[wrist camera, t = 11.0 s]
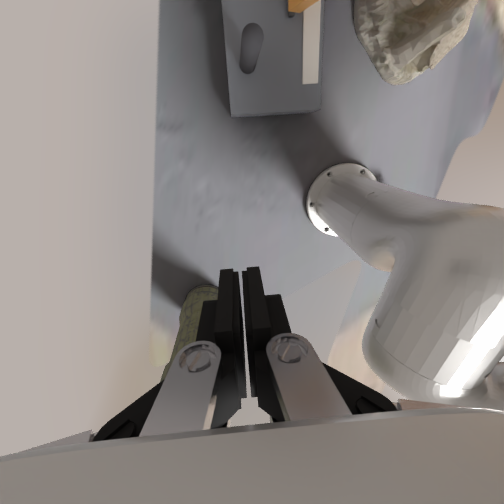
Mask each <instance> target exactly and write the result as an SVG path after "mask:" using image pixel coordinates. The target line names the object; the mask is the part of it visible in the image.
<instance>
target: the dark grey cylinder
mask: <svg viewBox="0 0 504 504" xmlns="http://www.w3.org/2000/svg"><path fill="white" fill-rule="evenodd" d="M263 40H264V33H263V30H262V28H261V27H260V26H259V25H258V24H256V23H249V24H247V25H246V26H245V27H244V29H243V31H242V37H241V51H240V69H241V71H242V72H243V73H245V74H250V73H252V72H253V71H254V69H255V67H256V63H257V60H258V57H259V54H260V50H261V47H262V44H263Z"/></svg>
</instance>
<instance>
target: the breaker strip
mask: <svg viewBox="0 0 504 504" xmlns="http://www.w3.org/2000/svg"><path fill="white" fill-rule="evenodd" d="M221 2H222V14H223V26H224V38H225V50H226V62H227V74H228V86H229V98H230V110H231V118H237V117H252V116H268V115H283V114H298V113H310V112H314V111H317V110H320V107H321V82H322V56H323V31H324V5H325V0H319V1H317V2H316V3H314V4H313V5H311V6H310V7H308V8H307V9H305V10H304V11H302V12H301V13H296V12H295V16H294V17H291V18H290V17H288V0H221ZM249 23H256V24H258V25H259V26H260V27H261V28H262V30H263V33H264V40H263V44H262V47H261V50H260V54H259V57H258V60H257V63H256V67H255V69H254V71H253V72H252V73H250V74H245V73H243V72H242V71H241V69H240V51H241V37H242V31H243V29H244V27H245V26H246V25H247V24H249Z"/></svg>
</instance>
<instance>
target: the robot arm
mask: <svg viewBox="0 0 504 504" xmlns="http://www.w3.org/2000/svg"><path fill="white" fill-rule="evenodd" d="M361 170H362V172H361V173H360V171H361ZM328 172H329V175H327V173H328ZM311 202H312V204H311V205H310V203H311ZM306 208H307V213H308V216H309V219H310V220H311V222H312V224H313V225H314V226H315V227H316V228H317V229H318V230H319V231H321V232H323V233H325V234H327V235H331V236H338V237H339V238H340V239H342V240H343V241H344V242H345V243H346V244H347V245H348V246H349V247H350V248H351V249H352V250H353V251H354V252H355V253H356V254H357V255H358V256H359V257H360V258H361V259H362V260H363V261H364V262H366V263H367V264H368V265H370V266H372V267H374V268H376V269H378V270H382V271H387V272H391V274H390V276H389V278H388V280H387V282H386V285H385V288H384V290H383V292H382V294H381V297H380V299H379V301H378V303H377V305H376V307H375V309H374V311H373V313H372V316H371V318H370V320H369V322H368V325H367V327H366V329H365V332H364V335H363V339H362V351H363V355H364V358H365V360H366V362H367V364H368V365H369V367H370V368H371V369H372V371H373V372H374V373H375V374H376V375H377V376H378V377H379V378H380V379H381V380H382V381H383V382H384V383H385V384H387V385H388V386H389V387H391V388H392V389H393V390H395V391H396V392H398V393H399V394H401V395H402V396H404V397H405V398H407V399H408V400H405V399H398V402H397V403H395V402H391V401H390V400H389V399H388V398H386V397H385V396H383V395H382V394H380V393H378V392H377V391H375V390H373V389H371V388H369V387H367V386H365V385H364V384H362V383H360V382H358V381H356V380H354V379H352V378H350V377H349V376H347V375H345V374H343V373H341V372H339V371H337V370H335V369H334V368H332V367H330V366H328V365H326V364H324V363H322V362H321V360H320V359H319V357H318V355H317V354H316V352H315V350H314V348H313V347H312V345H311V344H310V342H308V340H307V339H305V338H304V337H302V336H300V335H297V334H293V333H291V329H290V326H289V323H288V319H287V316H286V312H285V309H284V305H283V302H282V298H281V295H280V294H276V295H264V290H263V284H262V279H261V274H260V269H259V267H247V271H242V279H243V296H244V313H245V329H246V341H247V352H248V364H249V375H250V386H251V396H252V397H258V407H260V408H261V409H263V410H264V411H265V412H267V413H268V414H269V415H270V423H265V424H255V425H245V426H236V427H231V417H232V416H233V415H234V414H235V413H236V412H237V410H238V409H241V398H247V393H246V372H245V351H244V331H243V317H242V307H241V296H240V286H239V275H238V272H233V269H223V270H220V278H219V287H218V297H217V300H207V301H203V304H202V310H201V315H200V320H199V326H198V331H197V336H196V341H195V342H193V343H190V344H188V345H186V346H185V347H183V348H182V349H181V350H180V351H179V352H178V353H177V355H176V356H175V358H174V360H173V363H172V365H171V367H170V369H169V371H168V374H167V376H166V378H165V379H164V380H163V381H161V382H160V383H159V384H157V385H156V386H155V387H153V388H152V389H151V390H149V391H148V392H147V393H145V394H144V395H143V396H141V397H140V398H139V399H137V400H136V401H135V402H134V403H132V404H131V405H129V406H128V407H127V408H125V409H124V410H123V411H122V412H120V413H119V414H117V415H116V416H115V417H114V418H112V419H111V420H110V421H108V422H107V423H106V424H105V425H104V426H103V427H102V428H101V429H100V430H99V432H97V433H94V434H93V432H92V430H89V431H86V432H82V433H79V434H76V435H73V436H70V437H66V438H63V439H60V440H57V441H54V442H51V443H47V444H44V445H41V446H38V447H35V448H31V449H28V450H25V451H22V452H18V453H14V454H9V455H5V456H1V457H0V504H504V362H499V361H500V360H501V358H502V357H503V356H504V208H500V207H494V206H487V205H478V204H467V203H459V202H450V201H444V200H438V199H435V198H431V197H427V196H423V195H419V194H416V193H413V192H410V191H406V190H403V189H399V188H396V187H393V186H390V185H387V184H384V183H381V182H377V180H376V178H375V176H374V175H373V174H372V172H370V171H369V170H368V169H367V168H365V167H363V166H361V165H358V164H353V163H341V164H337V165H334V166H332V167H330V168H328V169H326V170H325V171H323V172H322V173H321V174H320V175H319V176H318V177H317V178H316V179H315V180H314V182H313V183H312V185H311V187H310V189H309V191H308V195H307V200H306ZM324 228H326V229H324Z"/></svg>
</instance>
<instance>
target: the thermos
mask: <svg viewBox="0 0 504 504" xmlns="http://www.w3.org/2000/svg"><path fill="white" fill-rule="evenodd" d="M217 297H218V287H216V286H213V285H200V286H197V287H195V288H193V289H192V290H191V291H190V292H189V293H188V294H187V297H186V300H185V301H184V304H183V307H182V310H181V313H180V316H179V321H180V328H179V331H178V335H177V338H176V342H175V345H174V349H173V352H172V356H171V359H170V362H169V363H168V364H167V365H166V366H165V369H164V371H163V374H162V378H161V381H163V380H164V379H165V378H166V376H167V374H168V371H169V369H170V367H171V365H172V363H173V360H174V358H175V356H176V355H177V353H178V352H179V351H180V350H181V349H182V348H183V347H185V346H186V345H188V344H190V343H193V342H195V341H196V336H197V331H198V326H199V320H200V315H201V310H202V304H203V301H207V300H217ZM161 381H160V382H161Z"/></svg>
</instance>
